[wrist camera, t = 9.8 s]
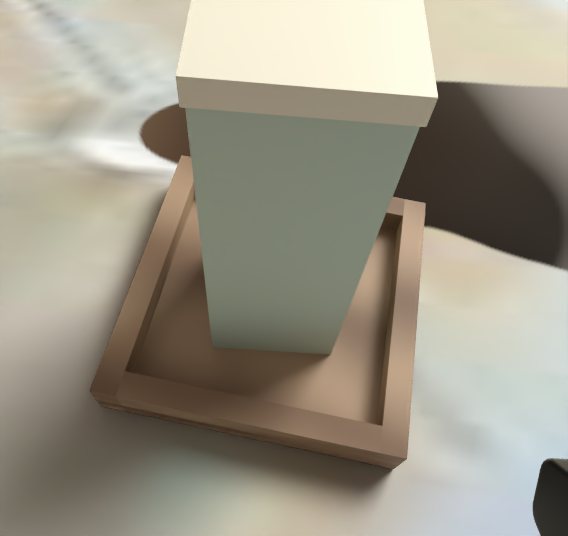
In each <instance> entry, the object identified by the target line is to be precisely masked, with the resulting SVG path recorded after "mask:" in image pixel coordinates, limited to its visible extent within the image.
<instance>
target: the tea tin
mask: <svg viewBox="0 0 568 536" xmlns="http://www.w3.org/2000/svg"><path fill="white" fill-rule="evenodd" d="M176 82H177V90H178V98H179V106H180V107H184V108H186V117H187V125H188V135H189V143H190V152H191V162H192V170H193V179H194V188H195V197H196V206H197V215H198V224H199V233H200V242H201V250H202V259H203V268H204V277H205V286H206V295H207V304H208V313H209V322H210V330H211V339H212V347H217V348H233V349H249V350H265V351H281V352H297V353H313V354H329V355H331V353H332V350H333V348H334V345H335V343H336V340H337V337H338V335H339V332H340V330H341V327H342V325H343V322H344V319H345V317H346V314H347V312H348V309H349V307H350V304H351V302H352V299H353V296H354V294H355V291H356V289H357V286H358V284H359V281H360V278H361V276H362V273H363V271H364V268H365V266H366V263H367V261H368V258H369V255H370V253H371V250H372V248H373V245H374V243H375V240H376V237H377V235H378V232H379V230H380V227H381V225H382V222H383V220H384V217H385V214H386V212H387V209H388V207H389V204H390V202H391V199H392V197H393V194H394V191H395V189H396V186H397V184H398V181H399V179H400V176H401V173H402V170H403V168H404V166H405V163H406V160H407V158H408V155H409V153H410V150H411V148H412V145H413V143H414V140H415V137H416V135H417V132H418V130H419V127H421V126H422V127H426V126H427V124H428V121H429V119H430V116H431V114H432V111H433V109H434V106H435V104H436V101H437V99H438V94H437V88H436V81H435V74H434V68H433V61H432V55H431V48H430V42H429V35H428V29H427V22H426V16H425V9H424V3H423V0H191V4H190V9H189V14H188V19H187V24H186V28H185V33H184V38H183V43H182V48H181V53H180V58H179V62H178V67H177V72H176Z"/></svg>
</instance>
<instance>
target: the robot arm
mask: <svg viewBox="0 0 568 536" xmlns="http://www.w3.org/2000/svg"><path fill="white" fill-rule="evenodd" d="M533 516H534V520H535V523H536V525H537V528H538V530H539V533H540V535H541V536H568V459H553V458H550V459H547V460H545V461H544V462H543V464H542V465H541V468H540V473H539V478H538V482H537V487H536V491H535V496H534V500H533Z"/></svg>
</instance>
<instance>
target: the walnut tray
mask: <svg viewBox="0 0 568 536" xmlns="http://www.w3.org/2000/svg"><path fill="white" fill-rule="evenodd" d="M424 217H425V203H421V202H416V201H411V200H406V199H401V198H396V197H392V199H391V202H390V204H389V207H388V209H387V212H386V214H385V217H384V220H383V222H382V225H381V227H380V230H379V232H378V235H377V237H376V240H375V243H374V245H373V248H372V250H371V253H370V255H369V258H368V261H367V263H366V266H365V268H364V271H363V273H362V276H361V278H360V281H359V284H358V286H357V289H356V291H355V294H354V296H353V299H352V302H351V304H350V307H349V309H348V312H347V314H346V317H345V319H344V322H343V325H342V327H341V330H340V332H339V335H338V337H337V340H336V343H335V345H334V348H333V350H332V353H331V355H329V354H313V353H297V352H281V351H265V350H249V349H233V348H217V347H212V339H211V330H210V322H209V313H208V304H207V295H206V286H205V277H204V268H203V259H202V250H201V242H200V233H199V224H198V215H197V206H196V197H195V188H194V179H193V170H192V162H191V157H187V156H183V155H181V158H180V161H179V163H178V166H177V168H176V171H175V173H174V176H173V178H172V181H171V184H170V186H169V189H168V191H167V194H166V196H165V199H164V202H163V204H162V207H161V209H160V212H159V214H158V217H157V219H156V222H155V225H154V227H153V230H152V232H151V235H150V237H149V240H148V242H147V245H146V248H145V250H144V253H143V255H142V258H141V260H140V263H139V266H138V268H137V271H136V273H135V276H134V278H133V281H132V283H131V286H130V289H129V291H128V294H127V296H126V299H125V301H124V304H123V306H122V309H121V312H120V314H119V317H118V319H117V322H116V324H115V327H114V329H113V332H112V335H111V337H110V340H109V342H108V345H107V347H106V350H105V353H104V355H103V358H102V360H101V363H100V365H99V368H98V370H97V373H96V376H95V378H94V381H93V383H92V386H91V388H90V392H91V393H92V394H93V396H94V397H95V398H96V400H97V401H98V402H99V404H100V405H101V406H103V407H108V408H113V409H117V410H122V411H126V412H131V413H136V414H140V415H145V416H150V417H154V418H159V419H164V420H168V421H173V422H177V423H182V424H187V425H191V426H196V427H201V428H205V429H210V430H215V431H219V432H224V433H228V434H233V435H238V436H242V437H247V438H252V439H256V440H261V441H266V442H270V443H275V444H279V445H284V446H289V447H293V448H298V449H303V450H307V451H312V452H317V453H321V454H326V455H330V456H335V457H340V458H344V459H349V460H354V461H358V462H363V463H368V464H372V465H377V466H381V467H386V468H391V469H394V468H396V467H397V466H398V465H400V464H401V463H402V462H403V461H405V460H406V459H407V451H408V437H409V423H410V409H411V396H412V382H413V368H414V355H415V341H416V327H417V313H418V300H419V286H420V272H421V259H422V245H423V231H424Z"/></svg>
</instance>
